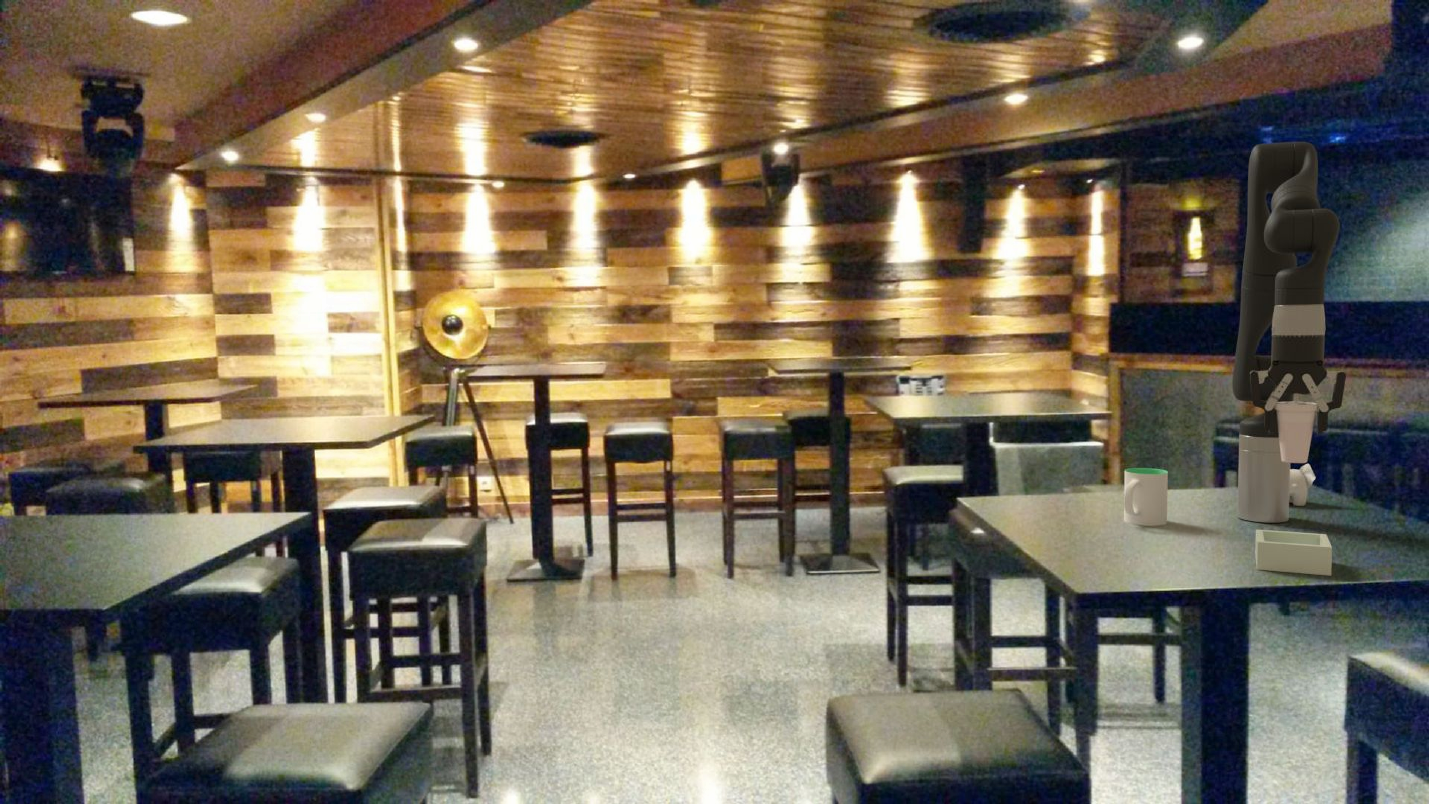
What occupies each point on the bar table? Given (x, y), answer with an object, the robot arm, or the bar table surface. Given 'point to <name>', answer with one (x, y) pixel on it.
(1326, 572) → the bin
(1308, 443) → the smoothie
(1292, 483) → the elephant figurine
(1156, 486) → the mug
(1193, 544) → the bar table surface
